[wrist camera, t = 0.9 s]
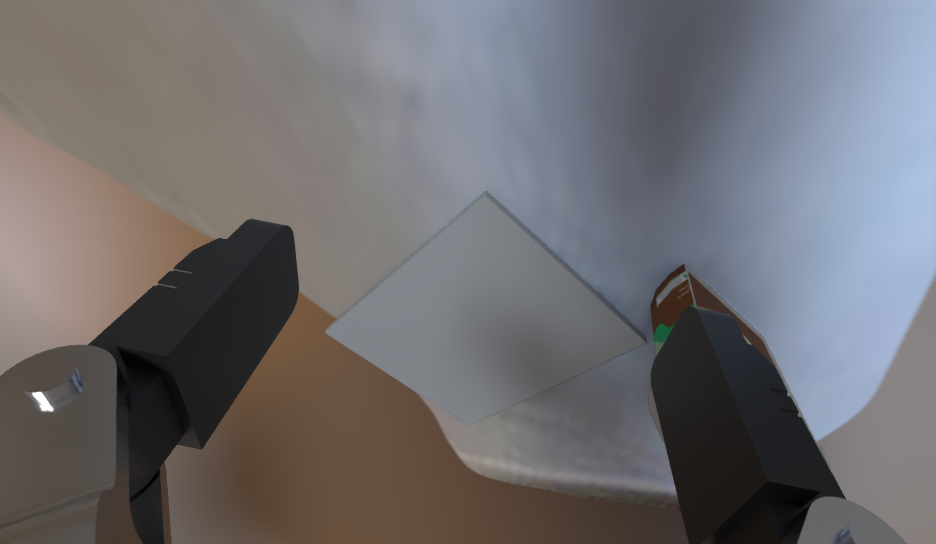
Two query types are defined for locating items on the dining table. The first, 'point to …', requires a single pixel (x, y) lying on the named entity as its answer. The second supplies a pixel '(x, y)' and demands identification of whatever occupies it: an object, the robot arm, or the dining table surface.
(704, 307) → the food container
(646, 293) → the dining table surface
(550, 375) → the felt mat
